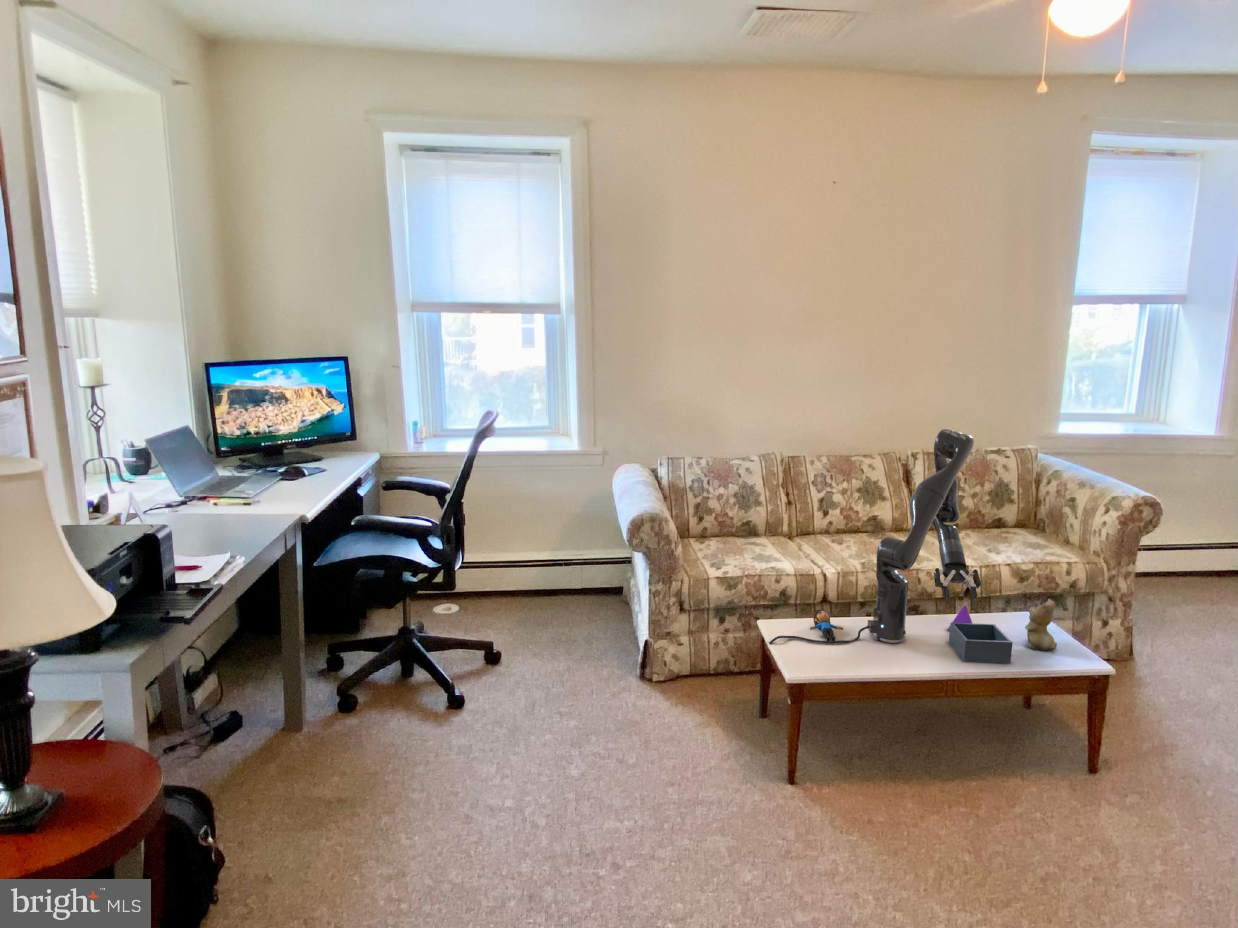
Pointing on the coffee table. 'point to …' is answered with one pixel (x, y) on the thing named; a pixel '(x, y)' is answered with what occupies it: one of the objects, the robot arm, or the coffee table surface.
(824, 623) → the toy
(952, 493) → the robot arm
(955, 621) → the arrowhead
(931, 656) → the coffee table surface
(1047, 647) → the figurine
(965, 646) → the bin
